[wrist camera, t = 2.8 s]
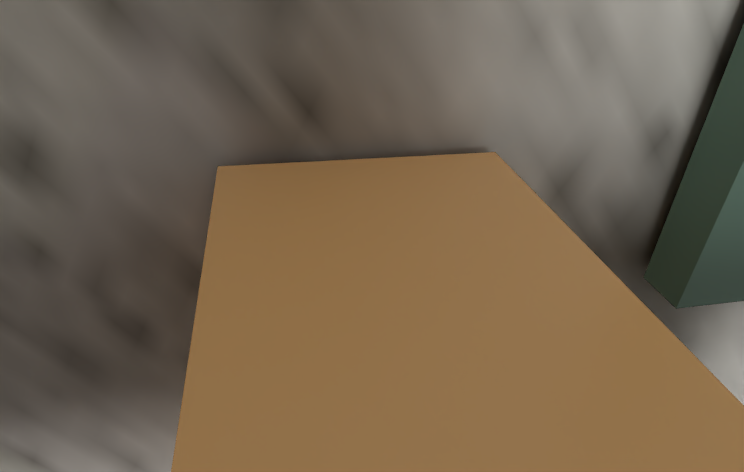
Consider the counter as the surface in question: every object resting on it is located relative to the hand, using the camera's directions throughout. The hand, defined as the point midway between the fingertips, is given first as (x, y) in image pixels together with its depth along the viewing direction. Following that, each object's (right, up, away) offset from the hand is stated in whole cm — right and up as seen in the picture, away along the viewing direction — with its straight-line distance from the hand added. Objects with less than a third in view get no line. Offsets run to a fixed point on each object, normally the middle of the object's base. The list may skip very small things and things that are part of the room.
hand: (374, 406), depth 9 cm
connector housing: (0, +1, +1) cm, 2 cm away
